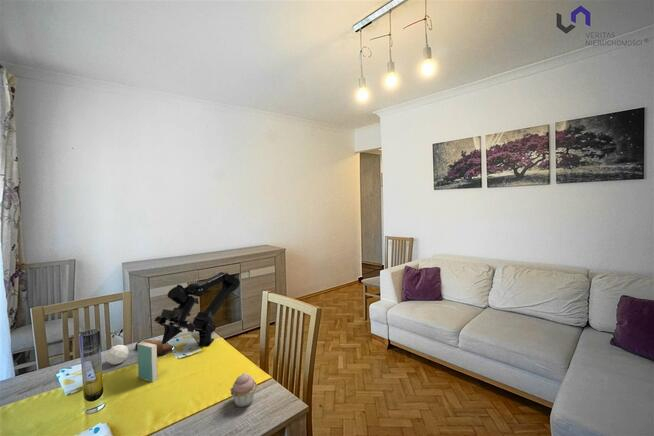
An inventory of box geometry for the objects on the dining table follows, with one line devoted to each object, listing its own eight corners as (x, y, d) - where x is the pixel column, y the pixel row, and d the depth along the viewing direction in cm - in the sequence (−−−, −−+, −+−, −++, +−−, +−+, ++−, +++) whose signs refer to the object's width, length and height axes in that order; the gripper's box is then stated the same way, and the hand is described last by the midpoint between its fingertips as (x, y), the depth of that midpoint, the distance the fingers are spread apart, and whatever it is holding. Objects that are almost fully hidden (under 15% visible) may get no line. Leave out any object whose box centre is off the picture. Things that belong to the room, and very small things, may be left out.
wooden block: (143, 374, 113) (142, 341, 112) (157, 379, 110) (156, 344, 109) (137, 378, 110) (136, 344, 110) (152, 382, 108) (151, 347, 107)
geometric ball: (112, 370, 120) (101, 355, 120) (131, 355, 126) (120, 342, 126) (114, 368, 115) (102, 353, 115) (134, 353, 121) (123, 339, 121)
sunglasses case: (177, 347, 134) (171, 338, 131) (167, 360, 129) (160, 352, 125) (151, 340, 140) (144, 332, 137) (139, 353, 135) (132, 345, 131)
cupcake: (258, 390, 103) (258, 364, 103) (256, 408, 94) (256, 380, 94) (232, 393, 102) (232, 367, 101) (227, 412, 93) (227, 383, 92)
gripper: (157, 298, 124) (133, 332, 114) (189, 303, 117) (167, 340, 107) (173, 309, 131) (152, 342, 122) (203, 314, 125) (184, 350, 115)
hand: (163, 343), depth 116 cm, fingers closed
